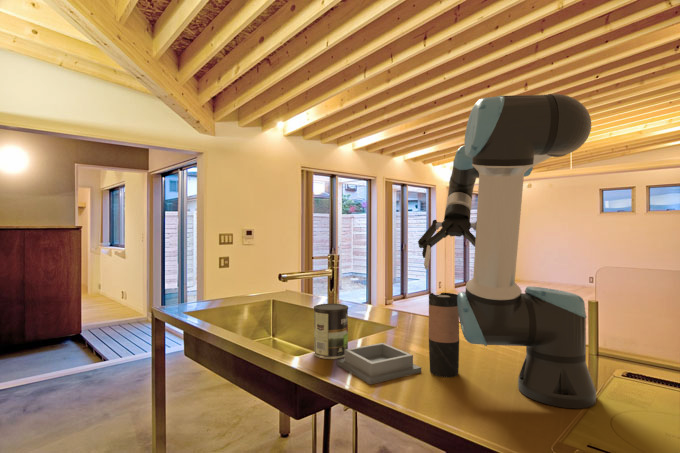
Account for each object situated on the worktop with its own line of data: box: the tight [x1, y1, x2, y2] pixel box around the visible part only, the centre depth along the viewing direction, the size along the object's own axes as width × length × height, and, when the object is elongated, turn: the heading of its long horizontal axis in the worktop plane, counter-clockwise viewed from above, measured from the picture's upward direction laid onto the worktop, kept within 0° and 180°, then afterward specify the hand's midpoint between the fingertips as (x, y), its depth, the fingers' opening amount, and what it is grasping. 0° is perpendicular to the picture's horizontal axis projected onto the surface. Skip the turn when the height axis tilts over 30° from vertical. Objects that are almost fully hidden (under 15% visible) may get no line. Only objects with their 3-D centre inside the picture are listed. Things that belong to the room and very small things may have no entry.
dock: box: [336, 342, 422, 385], centre depth 101 cm, size 16×16×4 cm
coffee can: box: [313, 303, 349, 360], centre depth 114 cm, size 10×10×14 cm
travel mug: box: [428, 292, 460, 378], centre depth 98 cm, size 8×8×20 cm
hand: (450, 268), depth 106 cm, fingers open, 13 cm apart
